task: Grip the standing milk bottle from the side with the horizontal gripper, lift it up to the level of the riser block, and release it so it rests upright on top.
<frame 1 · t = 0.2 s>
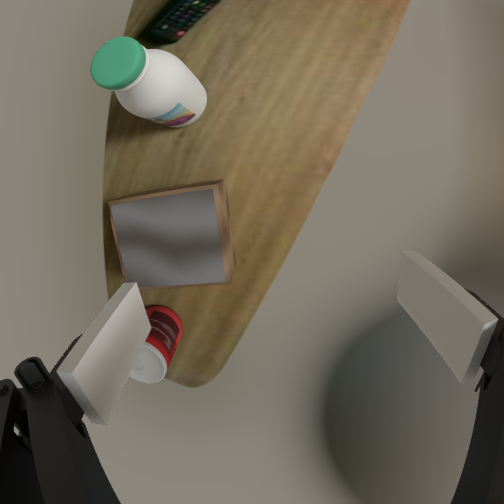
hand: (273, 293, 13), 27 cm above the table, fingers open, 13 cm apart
riser: (182, 227, 40), on the table
canned food: (162, 323, 46), on the table
milk bottle: (181, 102, 35), on the table
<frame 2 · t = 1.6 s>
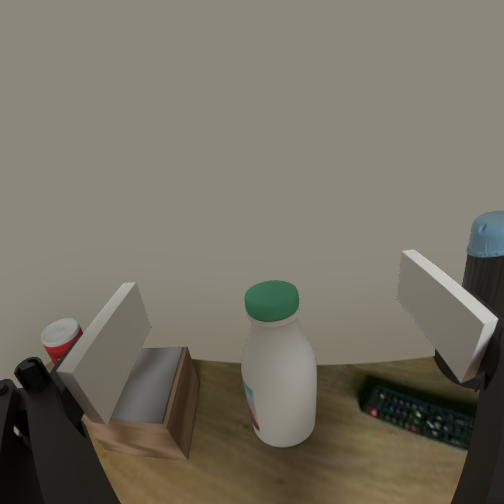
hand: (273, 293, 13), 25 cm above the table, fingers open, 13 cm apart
riser: (154, 417, 33), on the table
canned food: (86, 380, 41), on the table
milk bottle: (284, 425, 31), on the table
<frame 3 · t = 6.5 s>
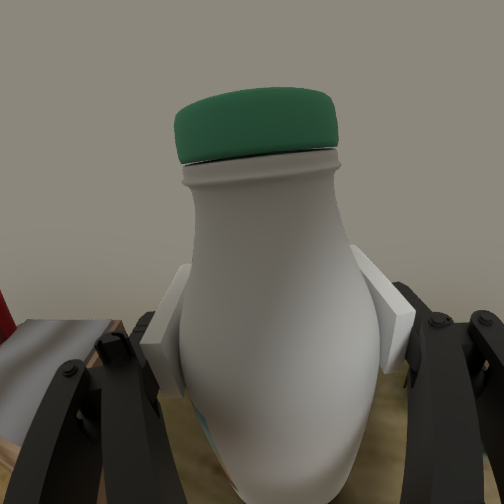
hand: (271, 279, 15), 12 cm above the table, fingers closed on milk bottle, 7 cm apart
riser: (73, 432, 17), on the table
canned food: (12, 368, 24), on the table
milk bottle: (289, 471, 14), on the table, touching gripper
when the fingers open (21 cm above the table, at t = 10.5 s): milk bottle drops 1 cm, resting on riser.
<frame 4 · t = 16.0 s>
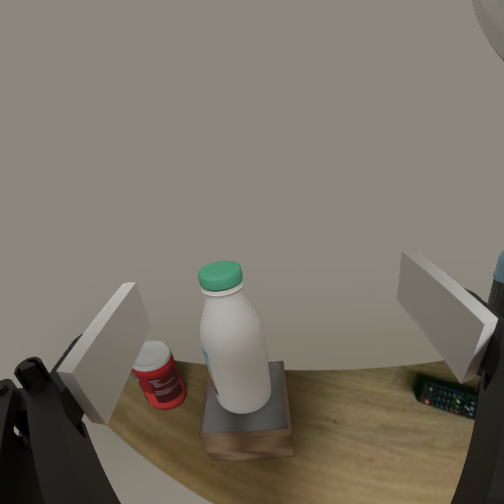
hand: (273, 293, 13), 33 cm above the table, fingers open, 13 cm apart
riser: (251, 424, 40), on the table
canned food: (167, 396, 47), on the table
milk bottle: (244, 396, 37), point 8 cm above the table, touching riser
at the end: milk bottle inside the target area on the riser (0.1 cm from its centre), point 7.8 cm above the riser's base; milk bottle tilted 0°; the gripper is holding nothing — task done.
